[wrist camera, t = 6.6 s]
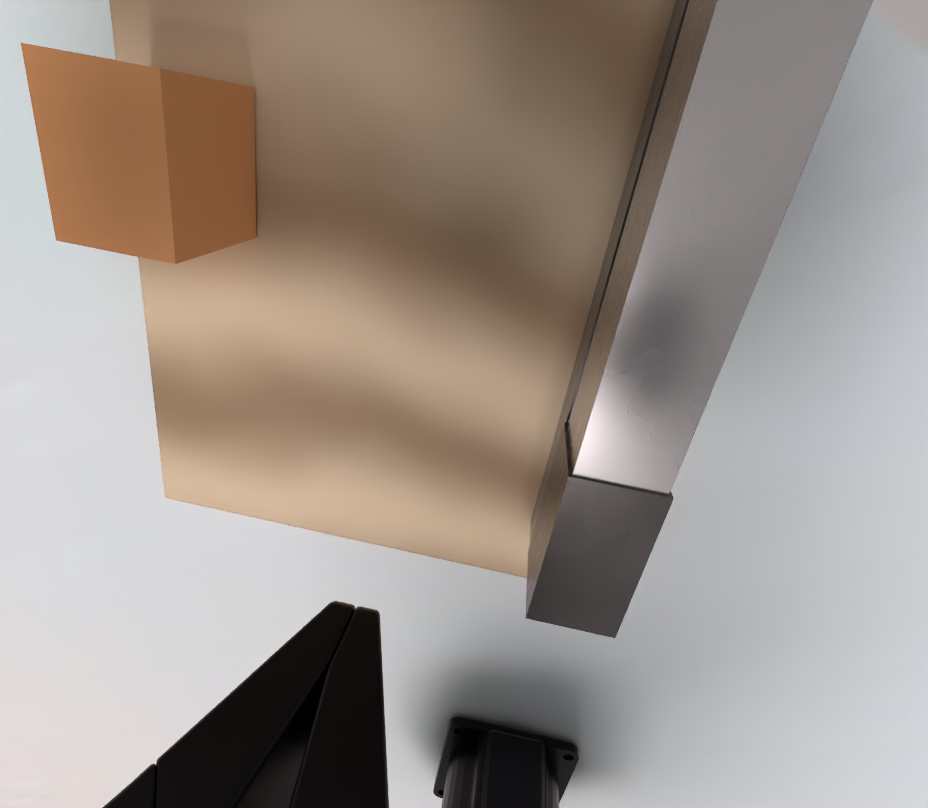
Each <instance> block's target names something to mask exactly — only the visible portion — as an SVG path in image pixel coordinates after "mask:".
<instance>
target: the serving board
mask: <svg viewBox="0 0 928 808" xmlns="http://www.w3.org/2000/svg"><path fill="white" fill-rule="evenodd" d="M109 1H110V10H111V19H112V27H113V36H114V45H115V54H116V60H117V61H122V62H128V63H133V64H139V65H144V66H150V67H155V68H161V69H166V70H171V71H176V72H181V73H186V74H191V75H196V76H201V77H206V78H211V79H216V80H221V81H226V82H231V83H236V84H241V85H246V86H251V87H254V107H255V184H256V238H254V239H251V240H248V241H245V242H242V243H239V244H236V245H233V246H230V247H227V248H224V249H221V250H218V251H215V252H212V253H208V254H205V255H202V256H199V257H196V258H193V259H190V260H187V261H184V262H181V263H178V264H172V263H167V262H162V261H157V260H152V259H147V258H142V257H138V259H139V268H140V277H141V286H142V295H143V304H144V313H145V322H146V331H147V340H148V349H149V357H150V366H151V375H152V384H153V393H154V402H155V411H156V420H157V429H158V438H159V447H160V456H161V465H162V473H163V482H164V491H165V498H168V499H173V500H177V501H182V502H186V503H191V504H195V505H200V506H204V507H209V508H213V509H218V510H222V511H227V512H231V513H236V514H240V515H245V516H249V517H254V518H258V519H263V520H267V521H272V522H277V523H281V524H286V525H290V526H295V527H299V528H304V529H308V530H313V531H317V532H322V533H326V534H331V535H335V536H340V537H344V538H349V539H353V540H358V541H362V542H367V543H371V544H376V545H380V546H385V547H389V548H394V549H399V550H403V551H408V552H412V553H417V554H421V555H426V556H430V557H435V558H439V559H444V560H448V561H453V562H457V563H462V564H466V565H471V566H475V567H480V568H484V569H489V570H493V571H498V572H502V573H507V574H511V575H516V576H521V577H525V578H527V569H528V549H529V545H530V523H531V518H532V514H533V511H534V507H535V504H536V500H537V496H538V493H539V489H540V486H541V482H542V478H543V475H544V471H545V468H546V464H547V460H548V457H549V453H550V450H551V446H552V443H553V439H554V435H555V432H556V428H557V425H558V421H559V417H560V414H561V410H562V407H563V403H564V399H565V396H566V392H567V389H568V385H569V382H570V378H571V374H572V371H573V367H574V364H575V360H576V356H577V353H578V349H579V346H580V342H581V338H582V335H583V331H584V328H585V324H586V321H587V317H588V313H589V310H590V306H591V303H592V299H593V295H594V292H595V288H596V285H597V281H598V277H599V274H600V270H601V267H602V263H603V259H604V256H605V252H606V249H607V245H608V242H609V238H610V234H611V231H612V227H613V224H614V220H615V216H616V213H617V209H618V206H619V202H620V198H621V195H622V191H623V188H624V184H625V181H626V177H627V173H628V170H629V166H630V163H631V159H632V155H633V152H634V148H635V145H636V141H637V137H638V134H639V130H640V127H641V123H642V120H643V116H644V112H645V109H646V105H647V102H648V98H649V94H650V91H651V87H652V84H653V80H654V76H655V73H656V69H657V66H658V62H659V59H660V55H661V51H662V48H663V44H664V41H665V37H666V33H667V30H668V26H669V23H670V19H671V15H672V12H673V8H674V5H675V1H676V0H109Z"/></svg>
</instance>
